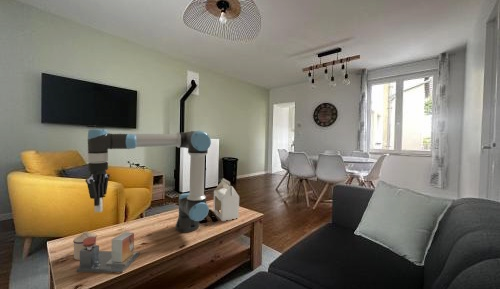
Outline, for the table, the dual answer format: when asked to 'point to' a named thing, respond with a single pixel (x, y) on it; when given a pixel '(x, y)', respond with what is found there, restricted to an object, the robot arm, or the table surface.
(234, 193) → the gable box
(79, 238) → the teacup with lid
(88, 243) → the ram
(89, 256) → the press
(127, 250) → the small box
